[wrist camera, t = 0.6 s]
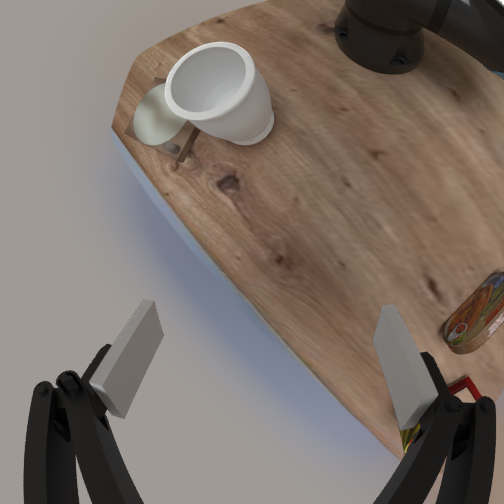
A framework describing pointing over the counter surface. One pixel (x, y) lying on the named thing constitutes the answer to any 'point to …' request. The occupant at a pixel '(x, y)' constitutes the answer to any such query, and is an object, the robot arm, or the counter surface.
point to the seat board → (161, 124)
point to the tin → (476, 317)
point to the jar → (221, 93)
